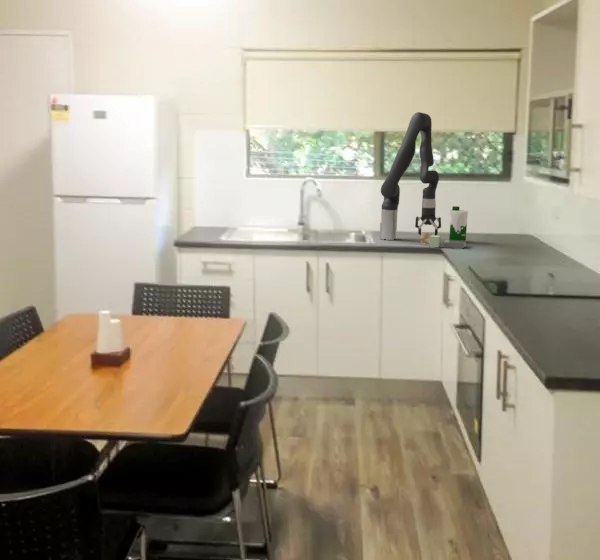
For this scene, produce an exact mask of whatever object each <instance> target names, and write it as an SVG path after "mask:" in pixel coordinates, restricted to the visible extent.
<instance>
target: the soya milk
mask: <svg viewBox="0 0 600 560" xmlns="http://www.w3.org/2000/svg"><path fill="white" fill-rule="evenodd" d="M468 213H469V211H468V210H464V209H460V206H456V205H455V206H454V205H453V206H452V208H451V209H450V210H449V214H450V215H449V216H450V221H449V222H450V223H449V235H448V236H449V237H448V240H462V241H466V242H467V229H468V228H467V226H468Z"/></svg>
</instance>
